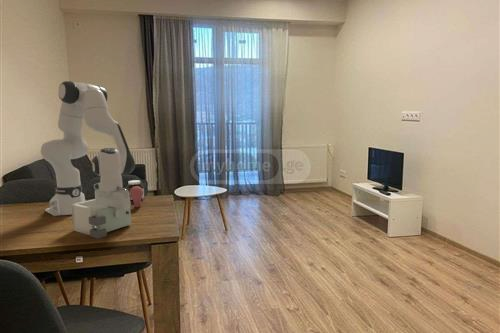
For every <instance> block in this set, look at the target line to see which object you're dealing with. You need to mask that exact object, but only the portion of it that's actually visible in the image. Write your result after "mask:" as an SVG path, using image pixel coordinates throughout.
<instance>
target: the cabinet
mask: <svg viewBox="0 0 500 333" xmlns="http://www.w3.org/2000/svg"><path fill="white" fill-rule="evenodd" d="M71 206H72V214H71V217H72V227H73V231H74V232H78V233H81V234H84V235H86V236H87V235H88V236H89V237H91V238H94V239H102V238H105V237H107V236H108V232H107V229H102V230H99V231H96V226H99V225H102V224H105V223H106V216H103V217H99V218H95V211H96V210H99V209H103V208H106V206H104V205H99V204H97V203H96V200H95V198H94V199H89V200H85V201H84V202H80V203H75V204H71Z"/></svg>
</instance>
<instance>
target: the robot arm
mask: <svg viewBox="0 0 500 333" xmlns="http://www.w3.org/2000/svg"><path fill="white" fill-rule="evenodd" d="M58 98H59V99H60V100H61V105H60V109H59V114H58V119H57V120H58V121H57V128H58V129H59V130H60V131H61V132H62V133H63V139H52V140H48V141H46V142H44V143H42V145H41V147H40V154H41V157H42V158H43V159H44V160H45V161H46V162H48V163H49V164H50V165H51V166H52V169H53V170H54V173H55V179H56V185H57V186H56V187H55V194H54V196H52V198H51V199H50V200H49V202H48V205H49V207H47V208H45V212H46V213H48V214H50V215H51V216H53V217H56V216H68V215H71V216H72V206H71V204H75V203H80V202H84V201H86V198H85V194H84V193H83V192H82V191H83V186H82V184H81V176H80V175H81V174H80V170H79V169H78V168H77V167H75V166H74V165H73V164H72V160H76V159H80V158H82V157H84V156H85V157H86V155H87V154H88V153H89V149H90V148H89V145H88V142H87V141H86V140H85V139H84V136H83V123H84V122H85V125H87V126H88V128H89V129H91V130H94V131H96V132H98V133H102V134H105V135H108V136H110V137H112V138H113V140H114V141H115V145H116V148H117V149H116V148H113V147H104V148H101V149H100V150H99V153H98V155H95V156H94V157H93V158H92V159H91V170H92V173H93V174H94V175H96V176H98V177H100V179H99V181H100V182H97V183H95V184H93V188H94V199H95V200H96V203H97V204H99V205H104V206H106V208H107V207H113V208H115V210H116V211H115V213H114V217H119V212H120V210H121V209H122V210H125V209H129V208H130V209H131V206H132V205H131V201H130V196H129V193H128V191H127V190H126V187H124V186H123V176H122V175H130V174H132V172H134V170H135V169H136V162H135V158H134V156H133V154H132V152H131V150H130V148H129V145H128V143H127V140H126V137H125V134H124V132H123V129H122V127H121V125H120V123H119V122H118V121H116V120H114V119H113V117H112V115H111V113H110V111H109V106H108V102H107V101H108V93H107V90H106V89H105V88H104V87H103V86H100V85H95V84H92V83H87V82H79V81H78V82H75V81H71V80H66V81H65V80H64V81H62V82H61V83H60V84H59V86H58Z"/></svg>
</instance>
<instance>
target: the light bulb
mask: <svg viewBox="0 0 500 333" xmlns="http://www.w3.org/2000/svg"><path fill="white" fill-rule="evenodd" d="M143 189H144V188H143ZM143 189H142V188H141V187H139V186H135V187H133V188H132V189H131V190H130V196H131V197H132V199H133V201H132V202H133V203H134V204H133V205H134V207H135V208H140V207H142V202H141V201H142V200H141V198H142V196H143Z"/></svg>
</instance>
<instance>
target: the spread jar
mask: <svg viewBox="0 0 500 333" xmlns="http://www.w3.org/2000/svg"><path fill="white" fill-rule="evenodd" d="M135 186H139V187H141V188H142V189H143V196H142V198H141V201H142V200H143V199H144V196H145V193H144V192H145V190H144V186H143V185H142V184H141V180H140V179H139V180H137V179H133V180H128V185H127V186H126V187H125V188H126V190H127V191H128V193H129V196H130V190H131V189H132V188H133V187H135ZM130 202H133V199H132V197H131V196H130Z"/></svg>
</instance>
